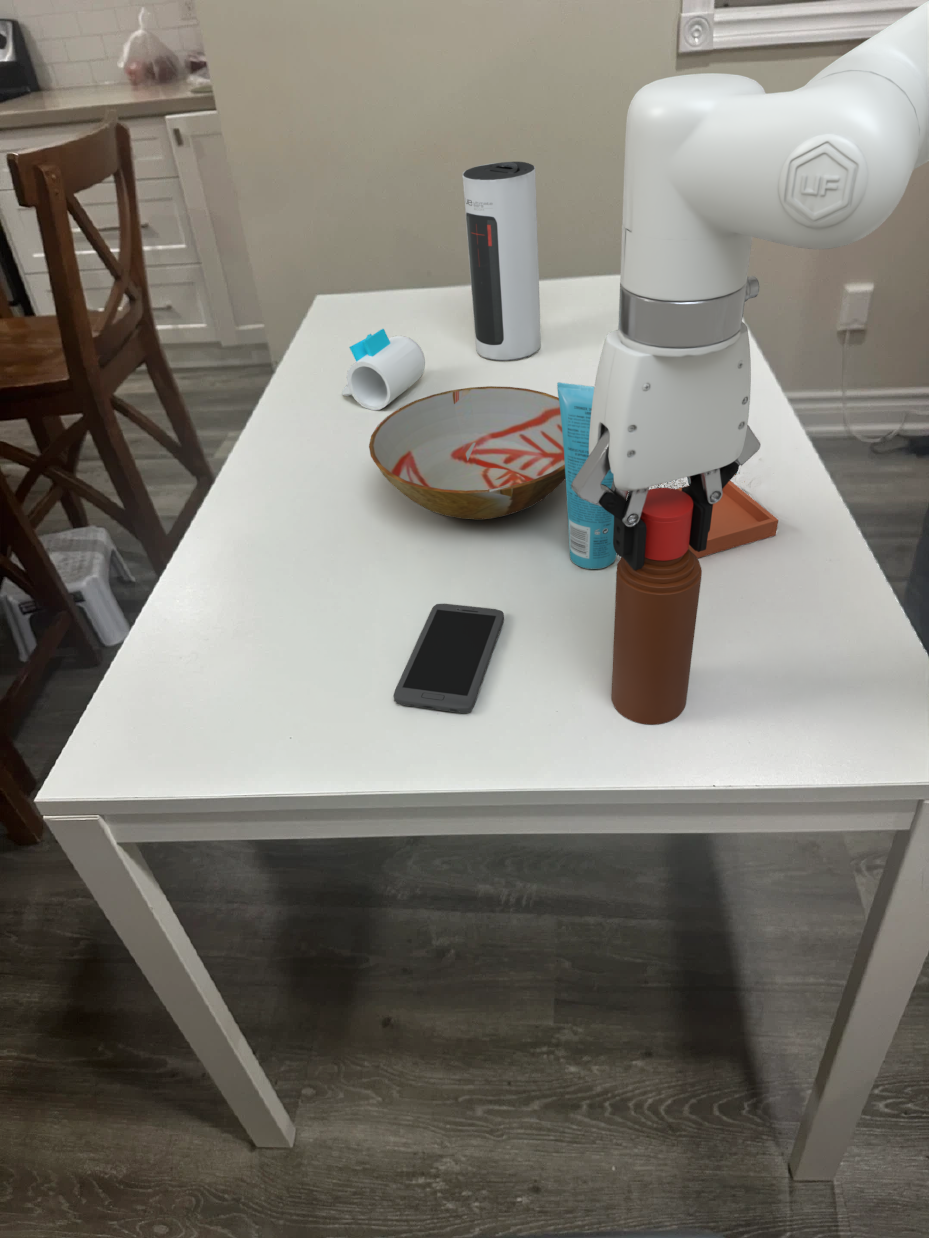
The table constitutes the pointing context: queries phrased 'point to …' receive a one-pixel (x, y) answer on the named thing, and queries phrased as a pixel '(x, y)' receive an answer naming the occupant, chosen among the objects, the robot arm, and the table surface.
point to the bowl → (473, 450)
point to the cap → (667, 523)
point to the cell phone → (450, 658)
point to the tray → (736, 522)
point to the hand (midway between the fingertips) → (660, 548)
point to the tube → (584, 518)
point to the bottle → (654, 637)
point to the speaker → (503, 259)
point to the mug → (383, 369)
